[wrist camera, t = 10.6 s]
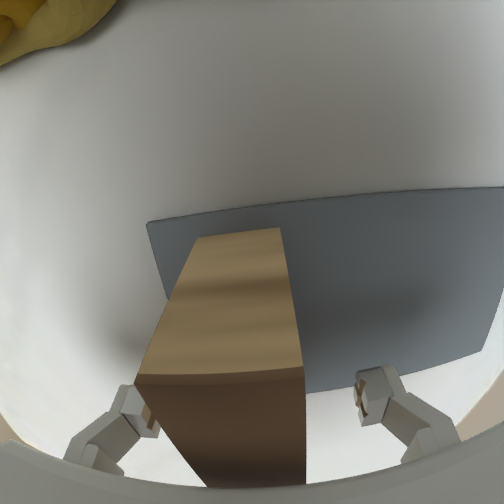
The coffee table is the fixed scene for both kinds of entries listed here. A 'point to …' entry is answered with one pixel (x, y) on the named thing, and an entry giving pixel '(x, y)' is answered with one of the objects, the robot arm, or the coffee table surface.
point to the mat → (372, 274)
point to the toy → (45, 23)
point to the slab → (231, 365)
